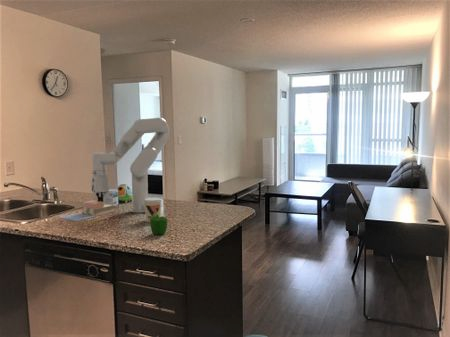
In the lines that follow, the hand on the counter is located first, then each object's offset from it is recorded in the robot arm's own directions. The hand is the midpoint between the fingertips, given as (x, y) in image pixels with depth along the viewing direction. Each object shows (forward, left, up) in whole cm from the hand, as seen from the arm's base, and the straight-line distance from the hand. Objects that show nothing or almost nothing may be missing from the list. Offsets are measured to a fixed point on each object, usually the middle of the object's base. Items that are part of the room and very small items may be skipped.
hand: (100, 202), depth 236 cm
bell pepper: (-64, +16, -6) cm, 66 cm away
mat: (0, +17, -6) cm, 18 cm away
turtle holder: (+17, -32, -6) cm, 37 cm away
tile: (0, +5, -2) cm, 5 cm away
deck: (0, +2, -6) cm, 6 cm away
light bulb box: (+13, -16, -6) cm, 21 cm away
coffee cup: (-42, -2, -6) cm, 43 cm away
